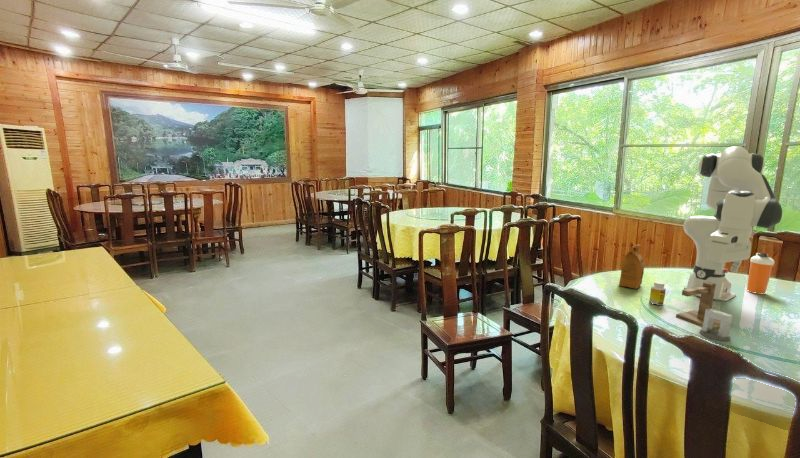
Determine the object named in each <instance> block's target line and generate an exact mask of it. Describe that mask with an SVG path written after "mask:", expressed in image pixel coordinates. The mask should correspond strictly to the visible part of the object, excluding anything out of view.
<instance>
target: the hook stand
mask: <svg viewBox="0 0 800 458" xmlns="http://www.w3.org/2000/svg"><path fill="white" fill-rule="evenodd" d="M715 287H716V284H715V283H711V282H703V286H702V287H697V288H691V289H682V292H681V296H684V297H692V296H695V295H698V294H701V297H699V298H700V299H699V305H698V309H697V310H689V311H685V312H680V313H676V315H675V318H678V317H679V318H678V319H681V320H684V321H687V322H689V323H692V324H695V325H696V326H700V327H703V321H704V316H705V311H706V309H711V308H712V309H713V303H714V299H713V297H714V292H715ZM720 323H721V321H719V320H716V319H714V323H713V328H712V330H715V331H718V330H719V328H720Z"/></svg>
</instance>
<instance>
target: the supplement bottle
mask: <svg viewBox="0 0 800 458" xmlns="http://www.w3.org/2000/svg"><path fill="white" fill-rule="evenodd" d="M666 290H667V288H666V287H665V283H664V282H662V281H659V280H658V281H654V282H653V284H652V285H651V289H650V293H649V301H648V302H649V303H650V302H651V303H653V304H657V305H662V306H664V303H665V297H666ZM651 303H650V304H651ZM653 304H652V305H653ZM657 305H656V306H657Z"/></svg>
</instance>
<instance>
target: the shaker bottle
mask: <svg viewBox="0 0 800 458" xmlns="http://www.w3.org/2000/svg"><path fill="white" fill-rule="evenodd" d="M749 261H750V262H749V263H750V264H749V265H750V266H749V273H748V278H747V286H746V291H747V290H749V291H751V292H756V293H765V292H767V289H768V284H769V281H770V278H771V274H772V270H773V267H774V265H775V259H773V258H772V257H770V255H769V254H768V253H762V252H756V253H755V255H753V256H752V257H751V256H750V260H749ZM751 292H750V293H751ZM765 294H766V293H765Z"/></svg>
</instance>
